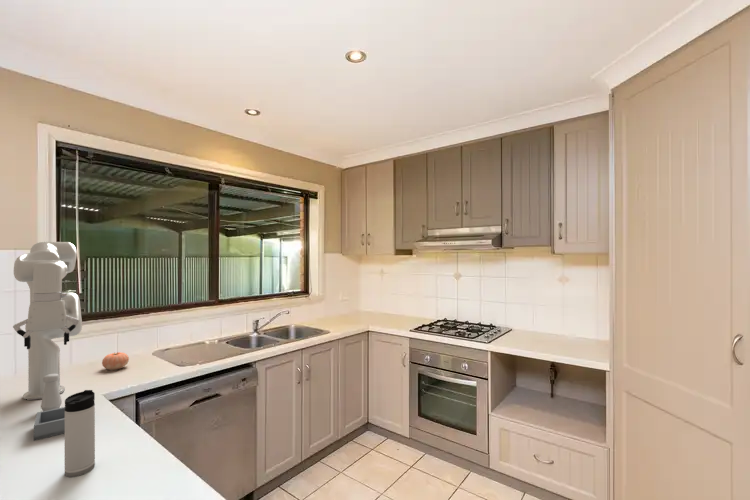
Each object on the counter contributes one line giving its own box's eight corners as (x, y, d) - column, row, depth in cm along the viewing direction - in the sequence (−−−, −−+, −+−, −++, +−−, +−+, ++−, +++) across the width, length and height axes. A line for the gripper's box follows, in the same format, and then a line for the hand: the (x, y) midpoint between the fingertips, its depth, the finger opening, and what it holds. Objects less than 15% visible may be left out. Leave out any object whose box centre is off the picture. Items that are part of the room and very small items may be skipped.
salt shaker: (59, 405, 138) (60, 370, 138) (63, 409, 135) (63, 374, 135) (39, 410, 134) (39, 375, 134) (42, 415, 130) (42, 378, 130)
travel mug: (101, 462, 101) (101, 389, 101) (83, 477, 95) (83, 399, 95) (77, 462, 101) (77, 389, 101) (58, 477, 94) (58, 399, 94)
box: (37, 426, 122) (37, 412, 122) (83, 415, 130) (83, 403, 130) (33, 440, 113) (33, 426, 113) (83, 428, 120) (83, 414, 120)
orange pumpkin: (104, 367, 184) (104, 351, 184) (130, 364, 189) (130, 348, 189) (99, 373, 174) (99, 356, 174) (126, 370, 179) (126, 354, 179)
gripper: (79, 294, 137) (79, 340, 138) (14, 297, 127) (14, 347, 127) (79, 297, 131) (79, 344, 132) (11, 301, 121) (11, 353, 121)
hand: (47, 346), depth 129 cm, fingers open, 9 cm apart
